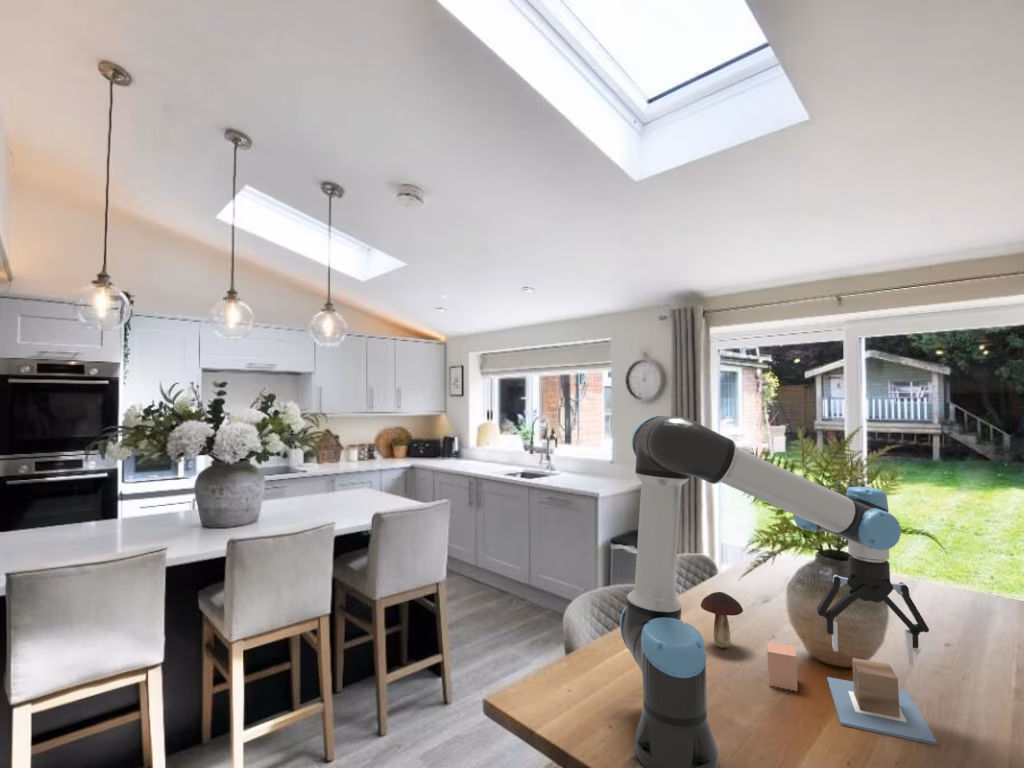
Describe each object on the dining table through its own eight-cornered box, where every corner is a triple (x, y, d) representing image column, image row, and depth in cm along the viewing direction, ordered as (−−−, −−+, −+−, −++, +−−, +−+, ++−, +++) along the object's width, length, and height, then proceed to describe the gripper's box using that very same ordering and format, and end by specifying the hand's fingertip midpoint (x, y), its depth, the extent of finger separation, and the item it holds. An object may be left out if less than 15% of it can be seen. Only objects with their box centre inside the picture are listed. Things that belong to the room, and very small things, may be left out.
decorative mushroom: (709, 635, 149) (707, 583, 150) (748, 646, 142) (747, 591, 143) (695, 649, 140) (694, 593, 141) (737, 660, 133) (735, 602, 134)
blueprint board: (937, 745, 99) (937, 741, 99) (840, 725, 106) (840, 721, 106) (908, 694, 117) (907, 691, 117) (827, 679, 124) (827, 676, 124)
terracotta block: (797, 691, 118) (796, 656, 119) (769, 686, 121) (767, 651, 121) (795, 679, 124) (794, 645, 124) (768, 674, 126) (766, 641, 127)
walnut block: (899, 718, 107) (897, 678, 107) (860, 710, 109) (858, 672, 110) (891, 701, 113) (889, 664, 113) (853, 694, 116) (852, 658, 116)
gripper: (933, 561, 111) (936, 660, 110) (802, 546, 122) (804, 637, 121) (945, 570, 105) (949, 676, 103) (806, 554, 115) (808, 650, 114)
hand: (871, 655), depth 112 cm, fingers open, 13 cm apart
